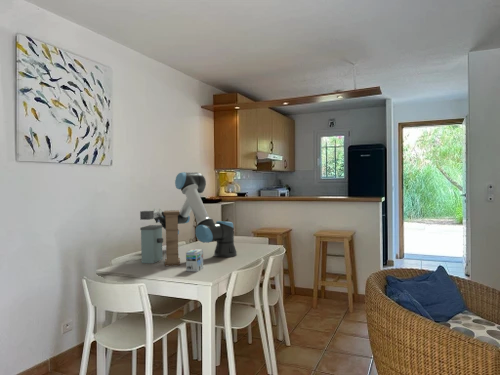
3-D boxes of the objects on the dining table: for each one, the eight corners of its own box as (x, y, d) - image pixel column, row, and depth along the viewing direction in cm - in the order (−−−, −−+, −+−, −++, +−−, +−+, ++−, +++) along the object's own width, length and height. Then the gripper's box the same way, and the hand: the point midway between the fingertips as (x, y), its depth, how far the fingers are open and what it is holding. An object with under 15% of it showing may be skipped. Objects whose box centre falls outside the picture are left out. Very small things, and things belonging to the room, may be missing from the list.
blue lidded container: (167, 258, 244) (166, 225, 244) (158, 263, 230) (157, 227, 230) (150, 258, 246) (150, 225, 246) (140, 263, 231) (140, 227, 231)
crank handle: (149, 219, 228) (149, 211, 228) (140, 219, 229) (140, 211, 229) (166, 215, 256) (166, 208, 256) (158, 215, 257) (158, 208, 257)
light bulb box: (197, 272, 204) (197, 252, 204) (185, 271, 206) (185, 252, 206) (203, 267, 215) (203, 249, 215) (192, 267, 216) (192, 248, 216)
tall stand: (180, 265, 223) (179, 211, 223) (164, 266, 221) (163, 212, 221) (179, 260, 238) (178, 210, 238) (165, 261, 236) (164, 210, 236)
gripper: (178, 229, 264) (167, 215, 243) (156, 229, 266) (144, 215, 246) (179, 220, 267) (169, 205, 247) (158, 220, 270) (146, 205, 250)
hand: (156, 210), depth 247 cm, fingers closed on crank handle, 3 cm apart
